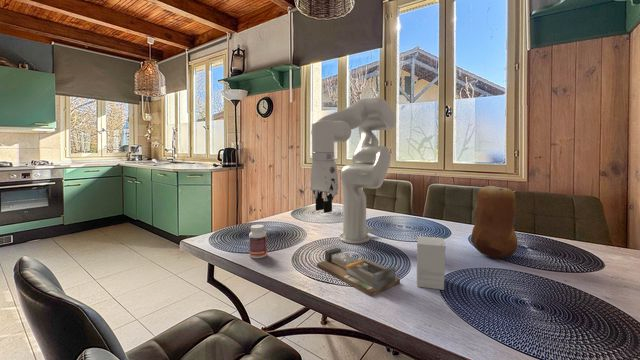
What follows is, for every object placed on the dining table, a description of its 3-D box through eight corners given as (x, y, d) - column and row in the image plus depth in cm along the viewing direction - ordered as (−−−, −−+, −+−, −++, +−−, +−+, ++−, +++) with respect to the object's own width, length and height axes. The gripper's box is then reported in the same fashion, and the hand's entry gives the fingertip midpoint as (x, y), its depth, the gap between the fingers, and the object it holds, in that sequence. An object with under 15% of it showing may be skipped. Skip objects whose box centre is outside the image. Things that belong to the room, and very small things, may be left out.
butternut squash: (512, 252, 108) (517, 184, 105) (519, 266, 96) (525, 190, 93) (469, 247, 114) (473, 182, 111) (471, 260, 102) (475, 187, 99)
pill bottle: (269, 256, 107) (268, 226, 106) (253, 260, 103) (252, 229, 102) (263, 251, 112) (262, 222, 111) (247, 254, 109) (246, 225, 107)
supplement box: (442, 279, 88) (444, 237, 86) (444, 290, 81) (446, 246, 79) (416, 275, 90) (417, 235, 89) (415, 286, 83) (417, 243, 82)
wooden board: (344, 258, 105) (344, 243, 104) (399, 283, 86) (400, 265, 85) (317, 266, 98) (316, 251, 97) (370, 296, 78) (370, 277, 78)
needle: (363, 269, 91) (363, 258, 91) (368, 272, 90) (368, 260, 89) (344, 276, 87) (344, 264, 86) (349, 279, 85) (349, 267, 85)
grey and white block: (337, 256, 102) (337, 247, 102) (364, 268, 92) (364, 259, 92) (325, 259, 99) (325, 251, 99) (351, 273, 89) (351, 263, 89)
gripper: (348, 158, 96) (348, 213, 98) (317, 156, 109) (318, 205, 111) (330, 159, 91) (330, 217, 93) (300, 157, 104) (301, 208, 107)
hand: (323, 210), depth 102 cm, fingers open, 3 cm apart
